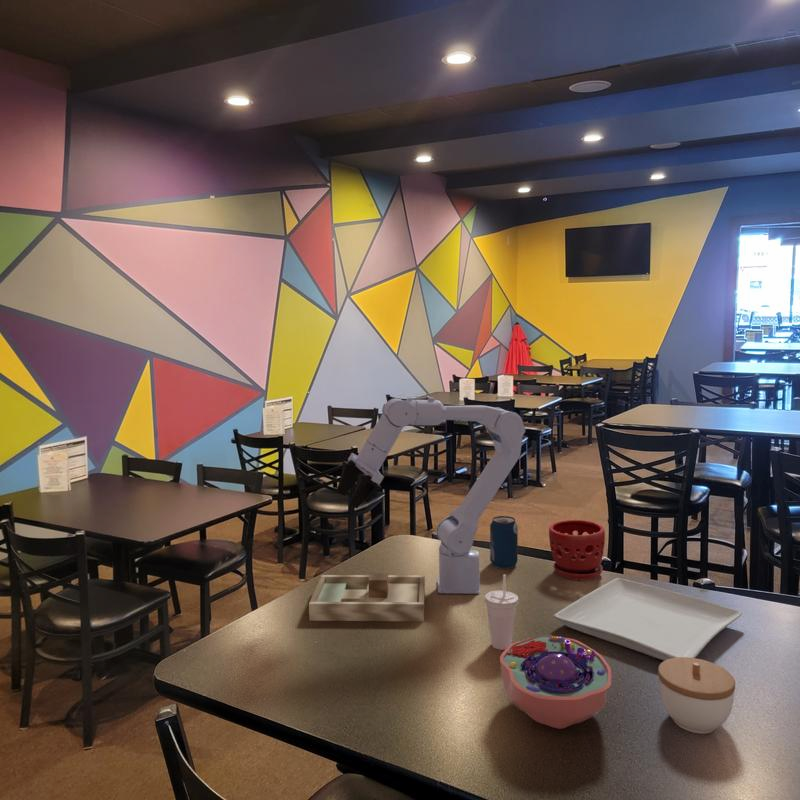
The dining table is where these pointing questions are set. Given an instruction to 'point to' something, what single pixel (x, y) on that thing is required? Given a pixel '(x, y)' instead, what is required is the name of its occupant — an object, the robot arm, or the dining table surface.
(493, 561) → the soda can
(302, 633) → the dining table surface
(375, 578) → the walnut block
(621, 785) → the dining table surface
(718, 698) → the lidded jar
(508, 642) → the smoothie
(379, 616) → the box
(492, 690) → the dining table surface
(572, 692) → the cell model
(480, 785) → the dining table surface
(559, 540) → the plant pot
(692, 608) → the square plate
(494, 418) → the robot arm
